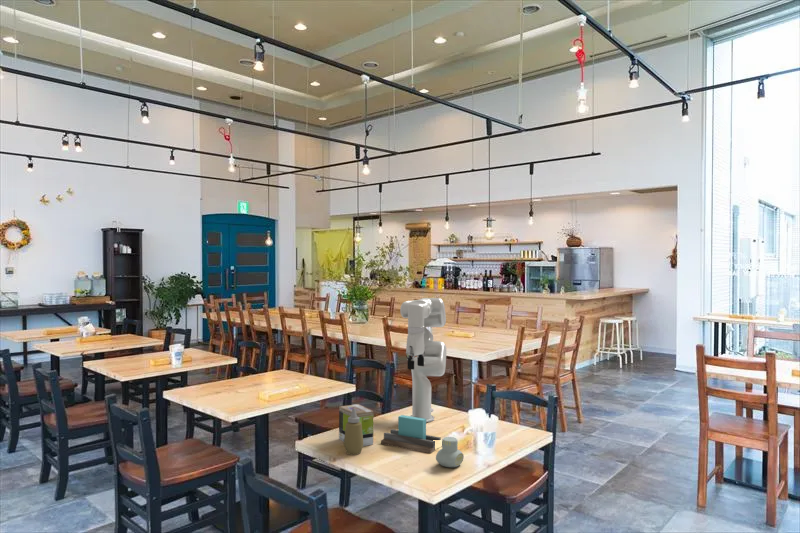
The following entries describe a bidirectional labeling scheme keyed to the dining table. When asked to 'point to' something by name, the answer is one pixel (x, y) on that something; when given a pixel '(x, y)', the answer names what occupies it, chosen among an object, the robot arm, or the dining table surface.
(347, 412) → the tea box
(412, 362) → the robot arm
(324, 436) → the dining table surface
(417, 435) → the door panel
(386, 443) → the track
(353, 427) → the squeeze bottle
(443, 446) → the grey rounded branched piece
